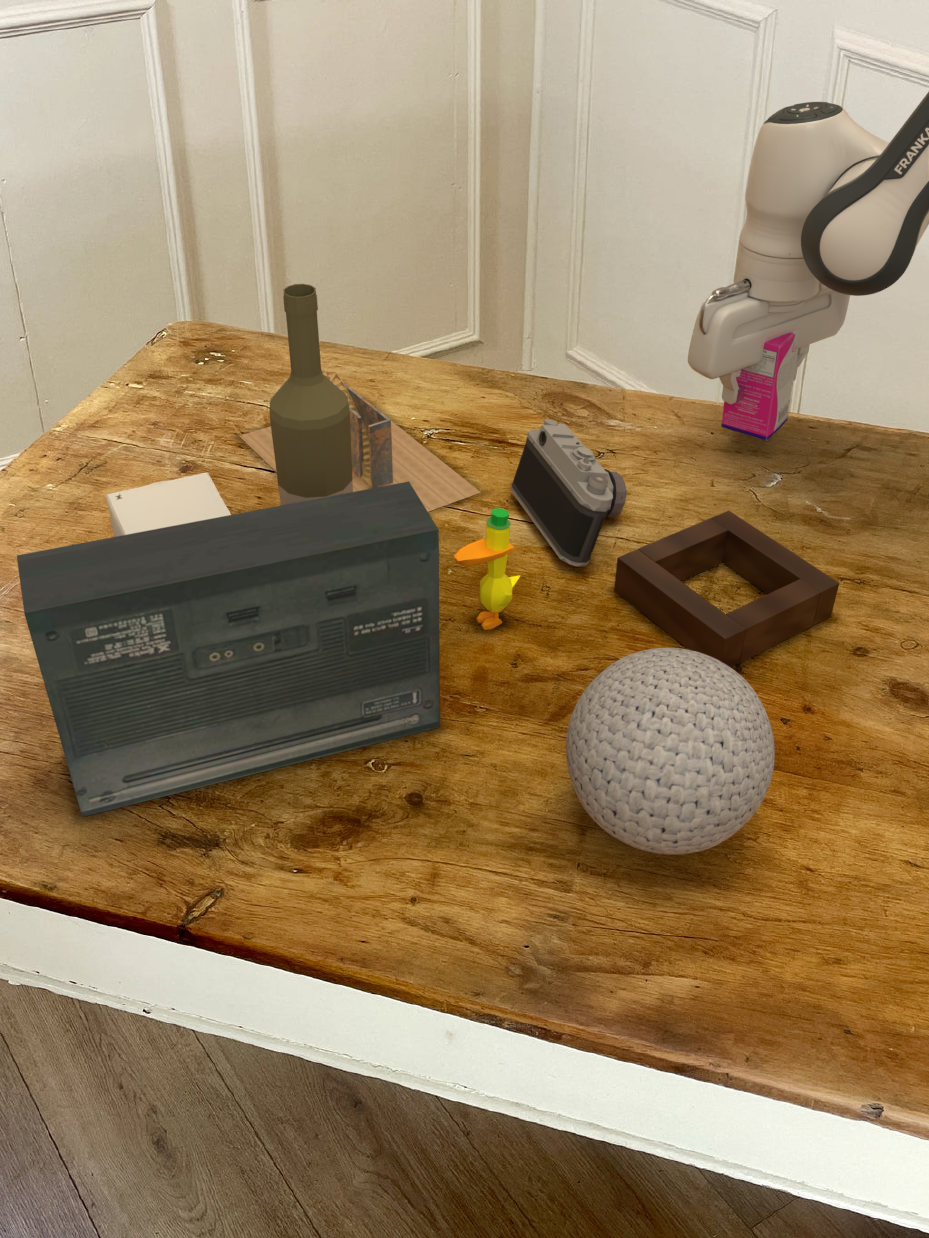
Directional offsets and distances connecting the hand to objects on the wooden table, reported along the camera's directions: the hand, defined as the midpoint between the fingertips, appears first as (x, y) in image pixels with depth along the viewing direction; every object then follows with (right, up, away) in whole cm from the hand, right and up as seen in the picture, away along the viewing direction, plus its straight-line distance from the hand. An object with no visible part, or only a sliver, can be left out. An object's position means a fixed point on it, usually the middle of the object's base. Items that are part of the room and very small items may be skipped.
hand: (758, 390), depth 132 cm
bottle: (-46, -22, -17) cm, 54 cm away
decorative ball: (-18, -41, -40) cm, 60 cm away
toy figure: (-30, -26, -21) cm, 45 cm away
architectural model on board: (-45, -8, +1) cm, 45 cm away
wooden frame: (-8, -24, -19) cm, 31 cm away
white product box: (-57, -28, -24) cm, 68 cm away
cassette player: (-49, -35, -34) cm, 69 cm away
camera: (-21, -16, -8) cm, 27 cm away
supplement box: (0, -3, +3) cm, 4 cm away
